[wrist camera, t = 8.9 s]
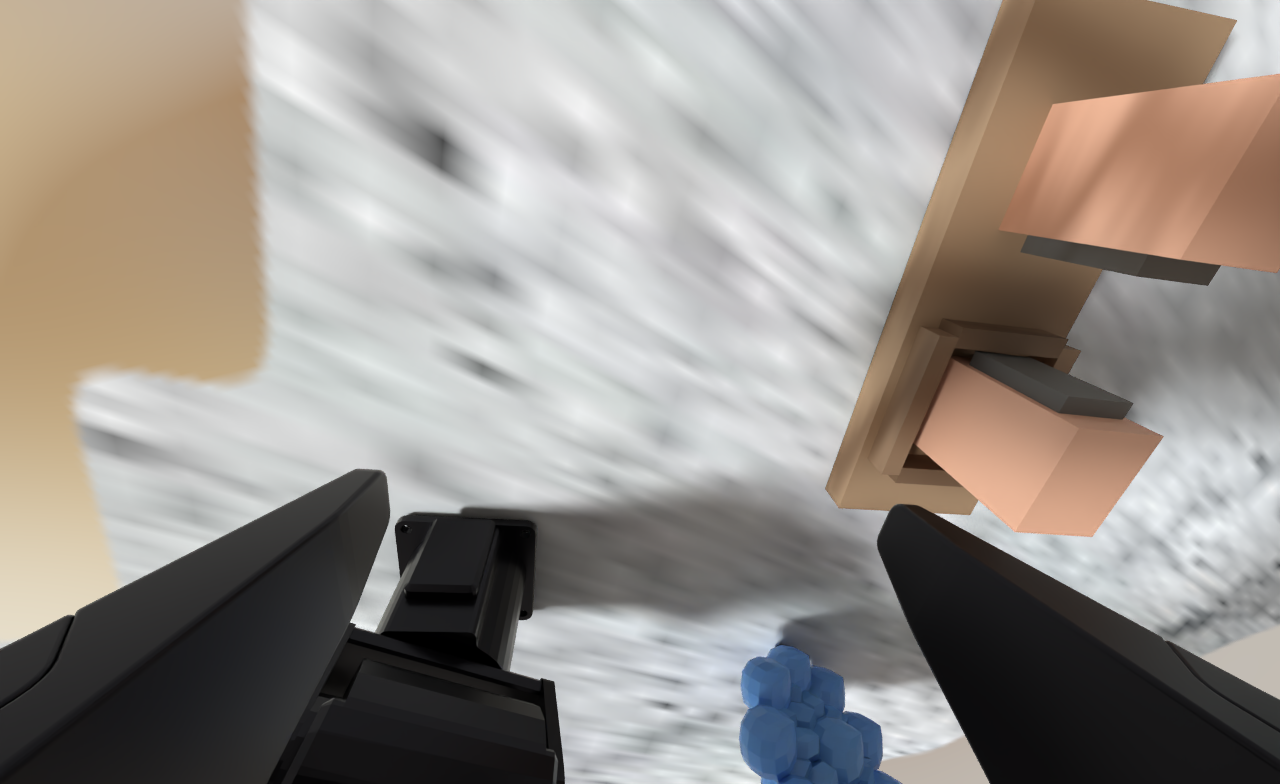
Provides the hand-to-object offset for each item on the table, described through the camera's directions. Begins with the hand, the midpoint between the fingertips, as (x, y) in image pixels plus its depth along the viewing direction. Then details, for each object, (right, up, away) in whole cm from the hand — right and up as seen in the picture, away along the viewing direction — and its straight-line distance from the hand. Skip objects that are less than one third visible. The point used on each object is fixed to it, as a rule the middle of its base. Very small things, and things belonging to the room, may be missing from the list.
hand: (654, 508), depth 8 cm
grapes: (+8, -14, +21) cm, 27 cm away
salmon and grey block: (+13, +2, +12) cm, 18 cm away
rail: (+14, +6, +12) cm, 19 cm away
